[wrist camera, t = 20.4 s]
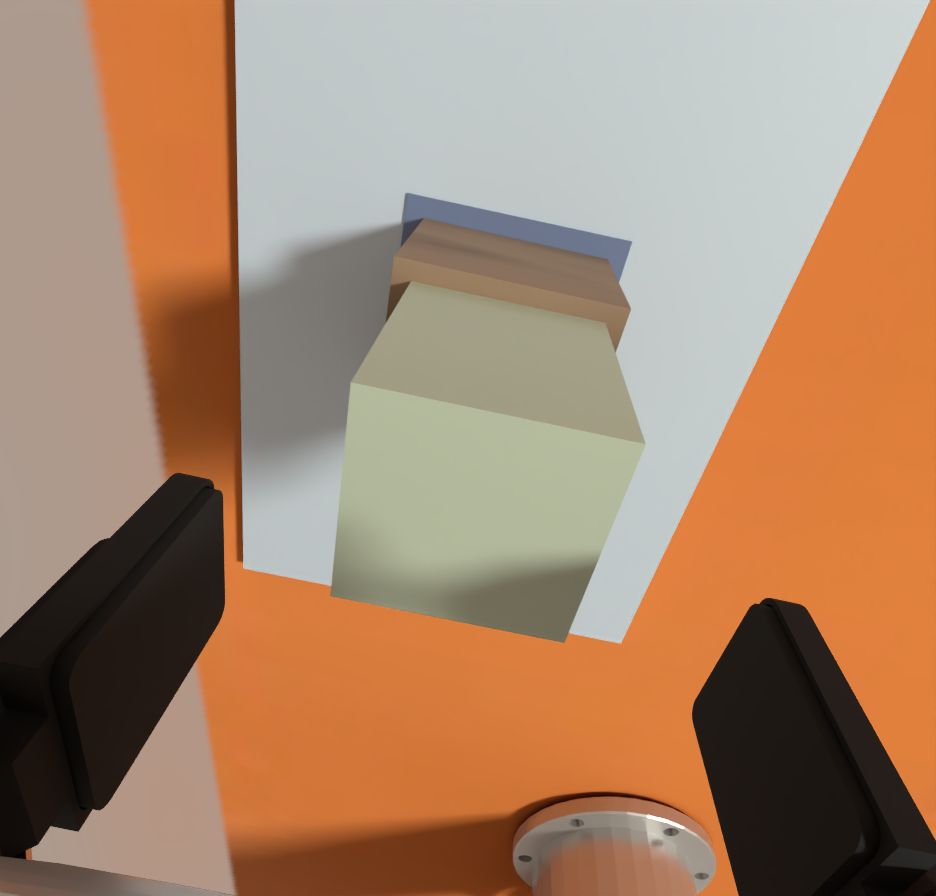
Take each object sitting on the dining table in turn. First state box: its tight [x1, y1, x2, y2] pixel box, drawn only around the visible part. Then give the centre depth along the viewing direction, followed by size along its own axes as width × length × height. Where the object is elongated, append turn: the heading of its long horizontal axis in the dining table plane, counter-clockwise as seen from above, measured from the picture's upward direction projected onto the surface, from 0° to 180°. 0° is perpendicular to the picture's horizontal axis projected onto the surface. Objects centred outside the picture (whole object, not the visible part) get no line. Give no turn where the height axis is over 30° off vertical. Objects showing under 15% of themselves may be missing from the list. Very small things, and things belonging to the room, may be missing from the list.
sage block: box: [330, 281, 646, 643], centre depth 14 cm, size 5×5×6 cm
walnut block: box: [385, 218, 631, 353], centre depth 18 cm, size 6×6×5 cm
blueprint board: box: [235, 0, 930, 644], centre depth 21 cm, size 28×18×1 cm, turn 169°
